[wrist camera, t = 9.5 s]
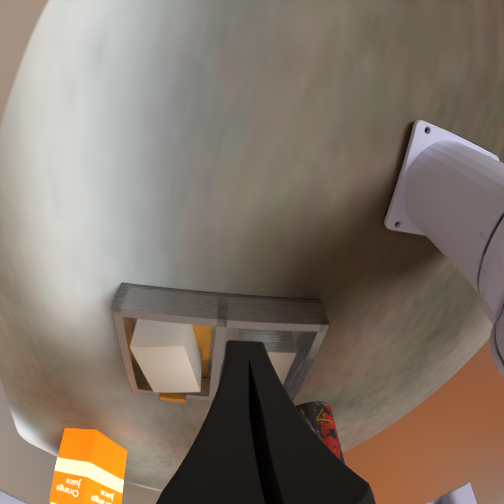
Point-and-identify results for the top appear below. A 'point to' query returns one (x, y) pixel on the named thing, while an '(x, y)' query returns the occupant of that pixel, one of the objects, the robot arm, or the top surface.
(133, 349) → the off-white upright block
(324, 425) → the deodorant
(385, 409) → the top surface
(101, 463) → the orange juice
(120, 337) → the rack
